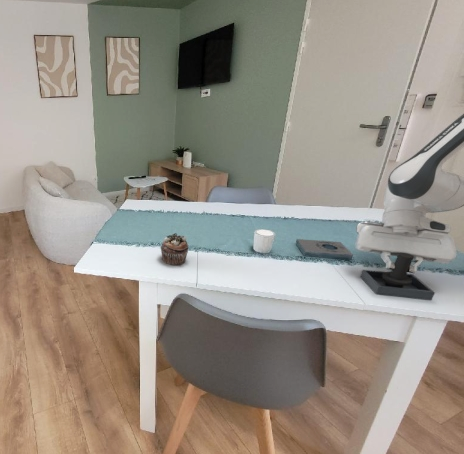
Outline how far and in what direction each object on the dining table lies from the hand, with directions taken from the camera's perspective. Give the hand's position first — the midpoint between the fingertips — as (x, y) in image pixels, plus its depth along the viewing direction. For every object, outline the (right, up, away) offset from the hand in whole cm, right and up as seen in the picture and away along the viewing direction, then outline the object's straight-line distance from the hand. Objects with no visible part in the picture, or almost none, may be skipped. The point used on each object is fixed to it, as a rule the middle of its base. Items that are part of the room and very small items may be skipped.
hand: (400, 270), depth 81 cm
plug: (+1, -5, +3) cm, 5 cm away
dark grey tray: (+1, -5, +3) cm, 6 cm away
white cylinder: (-24, +4, +27) cm, 36 cm away
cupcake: (-58, 0, +24) cm, 62 cm away
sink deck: (-4, +3, +24) cm, 24 cm away
